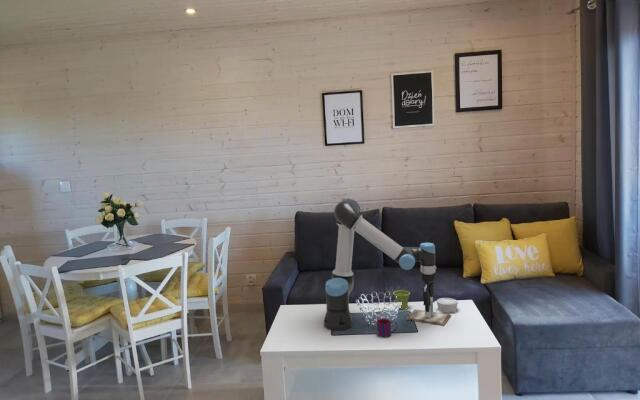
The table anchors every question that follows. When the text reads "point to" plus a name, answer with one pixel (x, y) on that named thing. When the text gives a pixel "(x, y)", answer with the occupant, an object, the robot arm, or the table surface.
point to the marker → (431, 305)
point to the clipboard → (435, 319)
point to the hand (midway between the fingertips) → (429, 315)
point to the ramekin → (447, 305)
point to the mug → (384, 327)
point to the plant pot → (402, 298)
